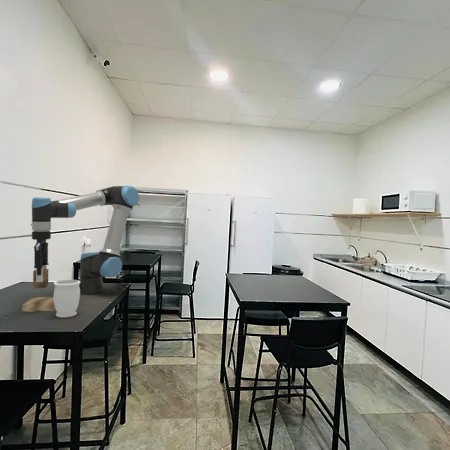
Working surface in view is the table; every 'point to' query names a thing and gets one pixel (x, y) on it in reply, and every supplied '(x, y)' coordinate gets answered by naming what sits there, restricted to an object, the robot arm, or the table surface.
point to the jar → (66, 297)
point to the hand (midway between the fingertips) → (41, 280)
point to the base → (39, 304)
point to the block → (40, 284)
